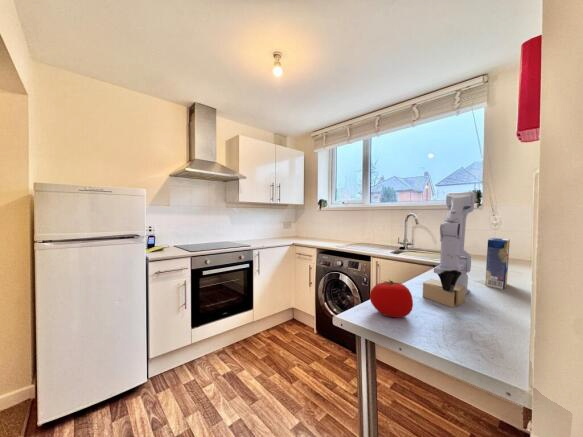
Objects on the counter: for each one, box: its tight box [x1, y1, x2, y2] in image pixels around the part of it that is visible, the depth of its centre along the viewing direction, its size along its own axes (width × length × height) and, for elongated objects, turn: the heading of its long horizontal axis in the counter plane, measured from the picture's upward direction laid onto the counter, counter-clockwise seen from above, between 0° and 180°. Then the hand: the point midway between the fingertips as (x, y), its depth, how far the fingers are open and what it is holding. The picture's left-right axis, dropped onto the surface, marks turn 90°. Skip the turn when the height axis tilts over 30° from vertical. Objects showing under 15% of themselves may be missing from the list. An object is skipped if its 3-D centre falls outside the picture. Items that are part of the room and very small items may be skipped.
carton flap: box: [422, 282, 455, 309], centre depth 94 cm, size 1×12×8 cm, turn 27°
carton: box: [422, 278, 466, 307], centre depth 98 cm, size 8×13×6 cm, turn 38°
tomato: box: [369, 279, 414, 318], centre depth 84 cm, size 12×14×11 cm
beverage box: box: [484, 237, 511, 290], centre depth 115 cm, size 7×11×22 cm, turn 133°
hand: (448, 290), depth 90 cm, fingers closed
